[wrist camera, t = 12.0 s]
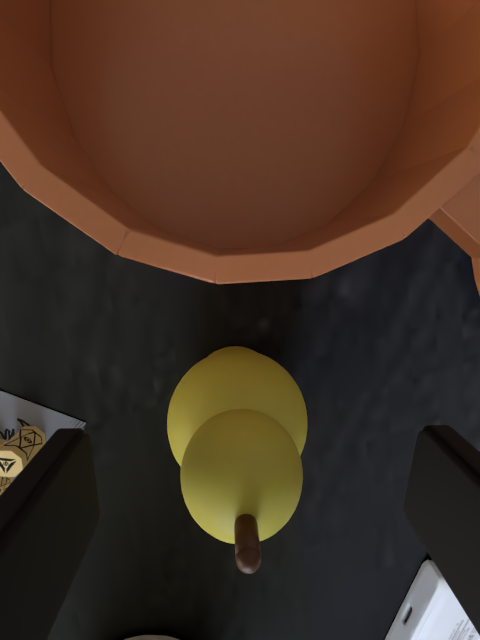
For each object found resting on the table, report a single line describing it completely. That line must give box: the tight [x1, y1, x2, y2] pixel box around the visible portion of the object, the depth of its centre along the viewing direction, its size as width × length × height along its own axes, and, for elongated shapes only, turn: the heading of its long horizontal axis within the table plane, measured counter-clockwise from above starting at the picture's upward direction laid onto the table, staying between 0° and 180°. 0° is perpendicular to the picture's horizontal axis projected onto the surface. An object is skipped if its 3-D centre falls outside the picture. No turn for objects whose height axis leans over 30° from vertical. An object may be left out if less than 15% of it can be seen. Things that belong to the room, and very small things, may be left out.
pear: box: [167, 346, 307, 574], centre depth 12 cm, size 6×6×9 cm
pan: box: [0, 0, 480, 284], centre depth 10 cm, size 16×21×6 cm
